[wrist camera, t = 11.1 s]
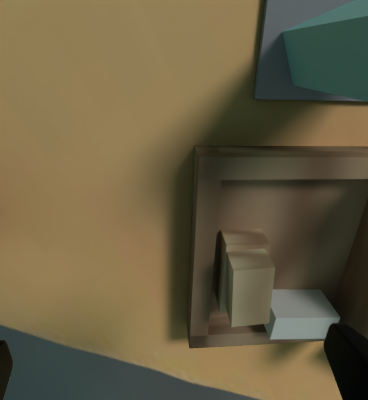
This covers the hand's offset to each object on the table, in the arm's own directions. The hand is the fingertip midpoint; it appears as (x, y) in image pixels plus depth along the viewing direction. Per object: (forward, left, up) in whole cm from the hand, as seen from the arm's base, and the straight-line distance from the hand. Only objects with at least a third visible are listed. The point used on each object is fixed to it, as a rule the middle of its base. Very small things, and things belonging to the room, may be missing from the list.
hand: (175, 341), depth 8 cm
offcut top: (+6, -7, -10) cm, 14 cm away
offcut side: (+10, -11, -12) cm, 20 cm away
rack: (+9, -6, -13) cm, 17 cm away
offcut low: (+6, -7, -12) cm, 15 cm away
